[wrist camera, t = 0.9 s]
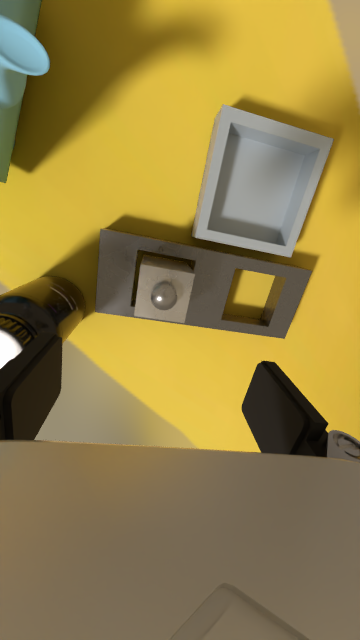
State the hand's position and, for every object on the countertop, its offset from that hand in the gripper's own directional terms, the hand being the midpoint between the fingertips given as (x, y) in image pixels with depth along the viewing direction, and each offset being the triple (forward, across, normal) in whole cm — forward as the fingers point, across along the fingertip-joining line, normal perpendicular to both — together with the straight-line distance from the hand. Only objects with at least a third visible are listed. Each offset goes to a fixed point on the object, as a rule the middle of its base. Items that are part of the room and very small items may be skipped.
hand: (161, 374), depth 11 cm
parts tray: (+19, -8, -12) cm, 24 cm away
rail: (+19, -5, -1) cm, 20 cm away
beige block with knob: (+19, 0, -1) cm, 19 cm away
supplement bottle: (+19, +12, +5) cm, 23 cm away
